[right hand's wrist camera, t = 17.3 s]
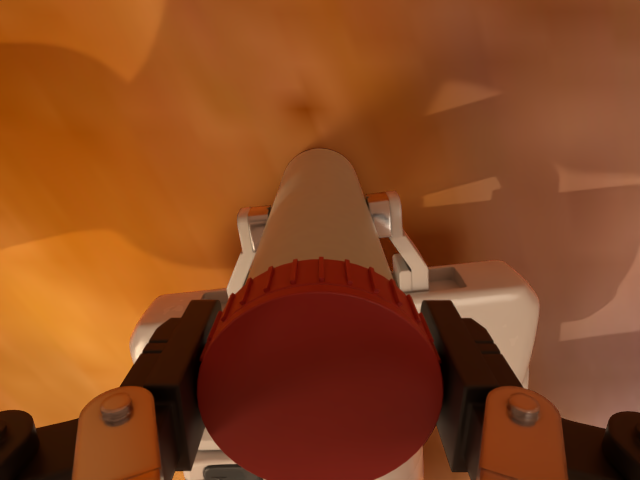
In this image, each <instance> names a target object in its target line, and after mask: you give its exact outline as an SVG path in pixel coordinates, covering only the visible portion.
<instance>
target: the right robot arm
mask: <svg viewBox="0 0 640 480" xmlns="http://www.w3.org/2000/svg"><path fill="white" fill-rule="evenodd" d="M219 311H222V307H221V303H220V300H191V301H190V302H189V304H188V306H187V308H186V310H185V311H184V313H183V315H182V317H181V318H170V319H168V320H167V321H166V322H164V323H163V324H162V325H160V326H159V327H158V328H156V330H155V332H154V333H153V335H152V336H151V338H150V340H149V343H147V344H146V346H145V347H144V349H143V351H142V353H141V354H140V355H139V357H138V359H137V360H136V362H135V363H134V365H133V366H132V368H131V370H130V371H129V373H128V374H127V376H126V378H125V379H124V381H123V382H122V384H121V385H120V387H118V388H115V389H111V390H109V391H106V392H104V393H102V394H100V395H98V396H97V397H95V398H94V399H93V400H91V401H90V402H89V403H88V404H87V405H86V406H85V407H84V408H83V410H82V411H81V413H80V416H79V418H78V419H74V420H71V421H66V422H62V423H58V424H53V425H49V426H44V427H40V428H35V424H34V421H33V418H32V416H31V415H30V414H29V413H27V412H24V411H20V410H7V411H1V412H0V480H172V478H173V475H174V473H175V471H191V470H192V467H193V464H194V461H195V458H196V454H197V451H198V448H199V445H200V442H201V439H202V436H203V433H204V429H205V425H204V423H203V421H202V418H201V415H200V411H199V408H198V401H197V378H198V373H199V368H200V365H201V363H202V362H201V361H199V360H200V356H201V354H202V352H203V349H204V347H205V344H206V342H207V338H208V335H209V333H210V331H211V328H212V326H213V323H214V321H215V319H216V316H217V314H218V312H219ZM421 312H422V314H423V316H424V318H425V320H426V323H427V325H428V328H429V330H430V332H431V335H432V337H433V339H434V342H433V343H434V345H435V347H436V350H437V352H438V355H439V357H440V359H441V363H439V364H440V367H441V372H442V377H443V388H444V395H443V403H442V408H441V412H440V415H439V419H438V421H437V423H436V425H437V428H438V431H439V434H440V437H441V441H442V444H443V447H444V450H445V453H446V456H447V459H448V462H449V465H450V468H451V471H452V472H468V473H469V476H470V479H471V480H640V413H638V412H630V411H626V412H619V413H616V414H614V415H612V416H611V417H610V419H609V421H608V424H607V428H606V429H604V428H599V427H595V426H591V425H586V424H582V423H578V422H573V421H570V420H566V419H563V418H561V416H560V413H559V411H558V410H557V408H556V407H555V406H554V405H553V404H552V403H551V402H550V401H549V400H547V399H546V398H545V397H543V396H542V395H540V394H538V393H536V392H534V391H531V390H529V389H525V388H524V387H523V386H522V384H521V383H520V381H519V380H518V378H517V377H516V375H515V373H514V372H513V370H512V369H511V367H510V366H509V364H508V362H507V361H506V359H505V358H504V356H503V355H502V354H501V353H500V350H499V348H498V347H497V345H496V344H494V341H493V339H492V337H491V336H490V334H489V333H488V331H487V330H486V328H484V327H483V326H482V325H480V324H479V323H477V322H476V321H475V320H473V319H472V318H461V316H460V315H459V313H458V311H457V309H456V308H455V306H454V304H453V302H452V301H451V300H423V301H422V304H421V310H420V313H421Z"/></svg>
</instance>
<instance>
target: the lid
mask: <svg viewBox="0 0 640 480" xmlns="http://www.w3.org/2000/svg"><path fill="white" fill-rule="evenodd" d="M433 342H434V339H433V337H432V335H431V332H430V330H429V328H428V325H427V323H426V320H425V318H424V316H423V314H422V312H421V313H418V312H417V309H416V307H415V304H414V302H413V299H412V297H411V296H410V294H408V295H407V296H406V294H405V293H404V292H402V291H401V290H400V289H399V288H398V287H397V286H396V283H395V281H394V280H393V279H392V278H391V279H390V280H388V279H387V278H385V277H384V276H382V275H380V274H378V273H376V272H375V271H374V268H372V267H369V269H368V268H365V267H362V266H360V265H357V264H353V263H350V260H347V259H345V261H339V260H330V259H324V257H319V259H309V260H302V261H298V259H293V262H291V263H287V264H283V265H280V266H278V267H275V268H274V267H273V266H270V267H269V268H268V271H266V272H264V273H262V274H260V275H258V276H257V277H255V278H254V279H252V278H251V277H250V278H249V279H247V281H246V284H245V285H244V286H243V287H242V288H241V289H240V290H239V291H238V292H237V293H236V294H234V293H232V294H231V295H230V296H229V299H228V301H227V304H226V306H225V308H224V310H223V312H222V311H219V312H218V314H217V316H216V319H215V321H214V323H213V326H212V328H211V331H210V333H209V335H208V338H207V342H206V344H205V347H204V349H203V352H202V354H201V356H200V360H199V361H201V362H202V363H201V365H200V368H199V373H198V378H197V401H198V408H199V411H200V415H201V418H202V421H203V423H204V425H205V427H206V429H207V431H208V433H209V435H210V436H211V438H212V439H213V441H214V442H215V443H216V445H217V446H218V447H219V448H220V449H221V450H222V451H223V453H224V454H226V455H227V456H228V457H229V458H230V459H231V460H232V461H234V462H235V463H236V464H238V465H239V466H241V467H242V468H244V469H245V470H247V471H249V472H250V473H252V474H254V475H256V476H258V477H260V478H263V479H265V480H375V479H377V478H380V477H382V476H384V475H386V474H388V473H390V472H391V471H393V470H395V469H397V468H398V467H400V466H401V465H402V464H404V463H405V462H407V461H408V460H409V459H410V458H411V457H412V456H413V455H414V454H416V453H417V452H418V451H419V449H420V448H421V447H422V446H423V445H424V444H425V442H426V441H427V439H428V438H429V436H430V435H431V433H432V432H433V430H434V428H435V426H436V423H437V421H438V419H439V415H440V412H441V408H442V403H443V395H444V388H443V377H442V372H441V367H440V364H439V363H441V359H440V357H439V355H438V352H437V350H436V347H435V345H434V343H433Z"/></svg>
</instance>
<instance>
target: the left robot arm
mask: <svg viewBox="0 0 640 480" xmlns="http://www.w3.org/2000/svg"><path fill="white" fill-rule="evenodd" d="M365 198H366V203H367V206H368V209H369V212H370V214H371V217H372V220H373V223H374V226H375V229H376V231H377V234H378V237H379V238H387V237H389V239H390V240H391V242H392V243H393V244H394V246H395V247H396V249H397V250H398V251H399V253H398V254H394V255H393V256H392V257H393V271H391V274H392V277H393V280H394V281H395V283H396V286H397V287H398V288H399V289H400V290H401V291H402V292H404V293H405V294H406V296H407V295H408V294H410V296H411V297H412V299H413V302H414V304H415V307H416V309H417V312H418V313H420V310H421V304H422V301H423V300H451V301H452V302H453V304H454V306H455V308H456V309H457V311H458V313H459V315H460V316H461V318H472V319H473V320H475V321H476V322H477V323H479V324H480V325H482V326H483V327H484V328H486V330H487V331H488V333H489V334H490V336H491V337H492V339H493V341H494V344H496V345H497V347H498V348H499V350H500V353H501V354H502V355H503V356H504V358H505V359H506V361H507V362H508V364H509V366H510V367H511V369H512V370H513V372H514V373H515V375H516V377H517V378H518V380H519V381H520V383H521V384H522V386H523V387H524V388H525V389H528V382H529V362H530V359H531V355H532V351H533V346H534V342H535V337H536V332H537V326H538V320H539V312H540V302H539V299H538V296H537V295H536V293H535V291H534V290H533V289H532V287H531V286H530V285H529V284H528V282H527V281H526V280H525V279H524V278H523V277H522V276H521V275H520V274H519V273H518V272H516V271H515V270H514V269H513V268H512V267H510V266H509V265H508V264H507V263H505V262H504V261H501V260H489V261H479V262H470V263H461V264H451V265H442V266H432V267H427V265H426V263H425V261H424V259H423V258H422V256H421V254H420V252H419V250H418V249H417V247H416V246H415V245H414V243H413V242H412V241H411V239H410V238H409V236H408V235H407V234H406V232H405V231H404V229H403V228H402V210H401V202H400V197H399V195H398V194H397V192H396V191H389V192H380V193H372V194H366V196H365ZM271 209H272V207H271V205H269V206H258V207H247V208H241V209H240V211H239V213H238V215H237V226H238V231H239V236H240V241H241V246H242V251H241V253H240V256H239V258H238V261H237V263H236V266H235V268H234V271H233V274H232V276H231V279H230V281H229V284H228V286H227V288H223V289H213V290H204V291H194V292H185V293H175V294H165V295H161V296H159V297H158V298H156V299H155V300H154V301H153V303H152V304H151V305H150V306H149V308H148V309H147V310H146V311H145V313H144V314H143V315H142V317H141V318H140V320H139V322H138V323H137V325H136V327H135V329H134V331H133V333H132V335H131V338H130V353H131V357H132V360H133V364H134V363H135V362H136V360H137V359H138V357H139V355H140V354H141V353H142V351H143V349H144V347H145V346H146V344H147V343H149V340H150V338H151V336H152V335H153V333H154V332H155V330H156V328H158V327H159V326H160V325H162V324H163V323H164V322H166V321H167V320H168V319H170V318H181V317H182V315H183V313H184V311H185V310H186V308H187V306H188V304H189V302H190V301H191V300H220V303H221V307H222V312H223V310H224V308H225V306H226V304H227V301H228V299H229V296H230V295H231V294H232V293H234V294H236V293H237V292H238V291H239V290H240V289H241V288H242V287H243V286H244V285H245V283H246V280H247V278H248V275H249V272H250V271H249V270H250V267H251V265H252V262H253V260H254V257H255V255H256V252H257V249H258V246H259V243H260V240H261V237H262V235H263V232H264V229H265V226H266V223H267V220H268V217H269V215H270V212H271ZM183 473H184V477H185V480H265V479H263V478H260V477H258V476H256V475H254V474H252V473H250V472H249V471H247V470H245V469H244V468H242V467H241V466H239V465H238V464H236V463H235V462H234V461H232V460H231V459H230V458H229V457H228V456H227V455H226V454H224V453H223V451H222V450H221V449H220V448H219V447H218V446H217V445H216V443H215V442H214V441H213V439H212V438H211V436H210V435H209V433H208V431H207V429H206V427H205V429H204V433H203V436H202V439H201V442H200V445H199V448H198V451H197V454H196V458H195V461H194V464H193V467H192V470H191V471H183ZM375 480H424V464H423V446H422V447H421V448H420V449H419V451H418V452H417V453H416V454H414V455H413V456H412V457H411V458H410V459H409V460H408V461H407V462H405V463H404V464H402V465H401V466H400V467H398V468H397V469H395V470H393V471H391V472H390V473H388V474H386V475H384V476H382V477H380V478H377V479H375Z"/></svg>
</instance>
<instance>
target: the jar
mask: <svg viewBox="0 0 640 480" xmlns="http://www.w3.org/2000/svg"><path fill="white" fill-rule="evenodd" d="M319 257H324V259H330V260H339V261H345V259H347V260H350V263H353V264H357V265H360V266H362V267H365V268H368V269H369V267H372V268H374V271H375V272H376V273H378V274H380V275H382V276H384V277H385V278H387V279H388V280H390V279H391V278H392V279H393V277H392V274H391V271H390V268H389V266H388V263H387V260H386V257H385V254H384V251H383V249H382V246H381V243H380V240H379V237H378V234H377V231H376V229H375V226H374V223H373V220H372V217H371V214H370V212H369V209H368V206H367V203H366V200H365V197H364V194H363V192H362V189H361V186H360V183H359V180H358V177H357V175H356V172H355V170H354V168H353V166H352V165H351V163H350V162H349V161H348V160H347V159H346V158H345V157H344V156H342V155H341V154H339V153H337V152H335V151H333V150H329V149H323V148H316V149H311V150H307V151H305V152H302V153H301V154H299V155H297V156H296V157H295V158H294V159H293V160H292V161H291V162H290V163H289V165H288V166H287V168H286V170H285V172H284V174H283V177H282V180H281V183H280V186H279V189H278V192H277V194H276V197H275V200H274V203H273V206H272V209H271V212H270V215H269V217H268V220H267V223H266V226H265V229H264V232H263V235H262V237H261V240H260V243H259V246H258V249H257V252H256V255H255V257H254V260H253V263H252V266H251V269H250V272H249V275H248V278H247V279H249V278H250V277H251V278H252V279H254V278H255V277H257V276H258V275H260V274H262V273H264V272H266V271H268V268H269V267H270V266H273V267H274V268H275V267H278V266H280V265H283V264H287V263H291V262H293V259H298V261H302V260H309V259H319ZM246 281H247V280H246ZM245 284H246V283H245Z"/></svg>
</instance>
